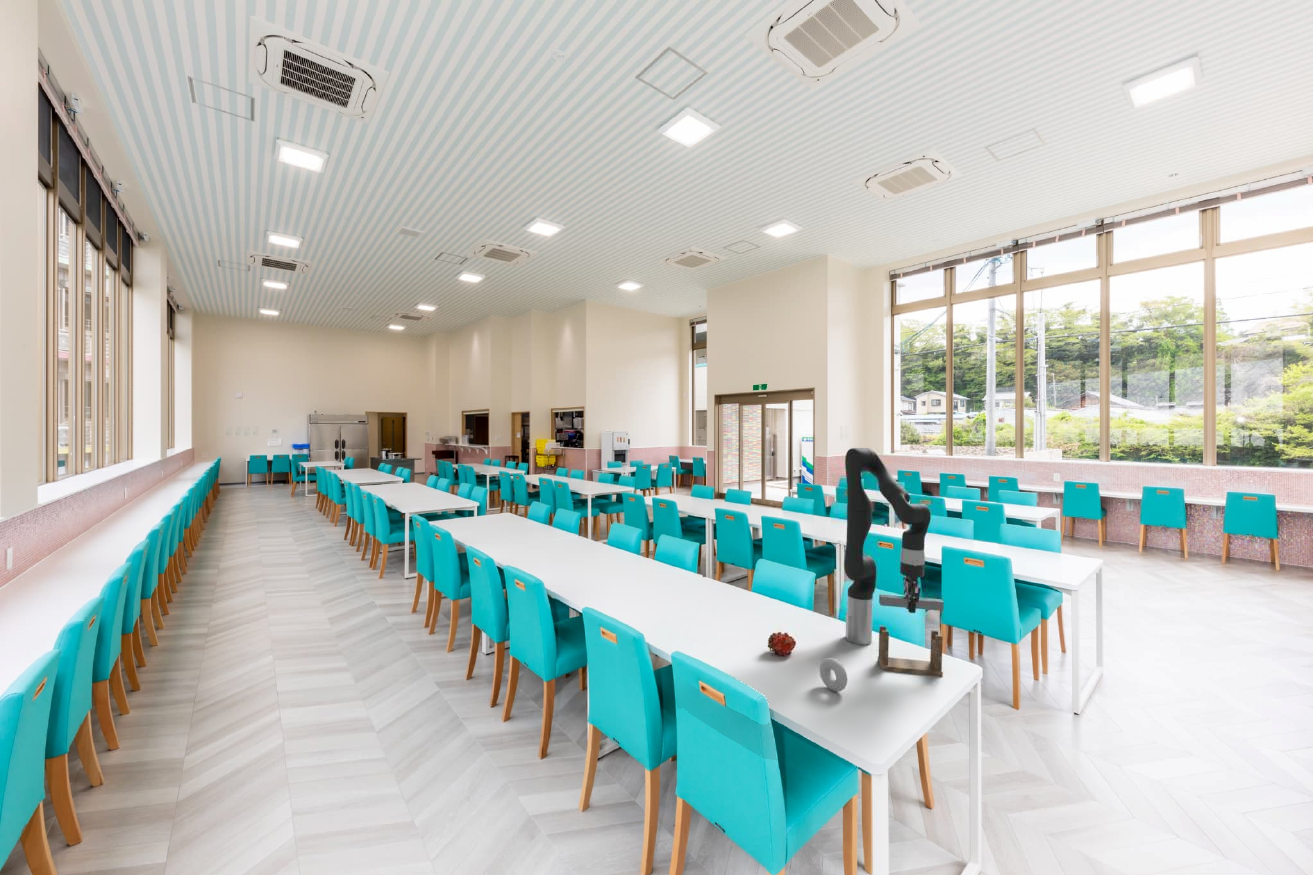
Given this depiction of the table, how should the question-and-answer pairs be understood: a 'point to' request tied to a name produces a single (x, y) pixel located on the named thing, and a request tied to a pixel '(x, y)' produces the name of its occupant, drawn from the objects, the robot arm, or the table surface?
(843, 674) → the donut
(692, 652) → the table surface
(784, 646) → the red bumpy oval lump
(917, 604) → the steel bar
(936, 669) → the walnut stand
